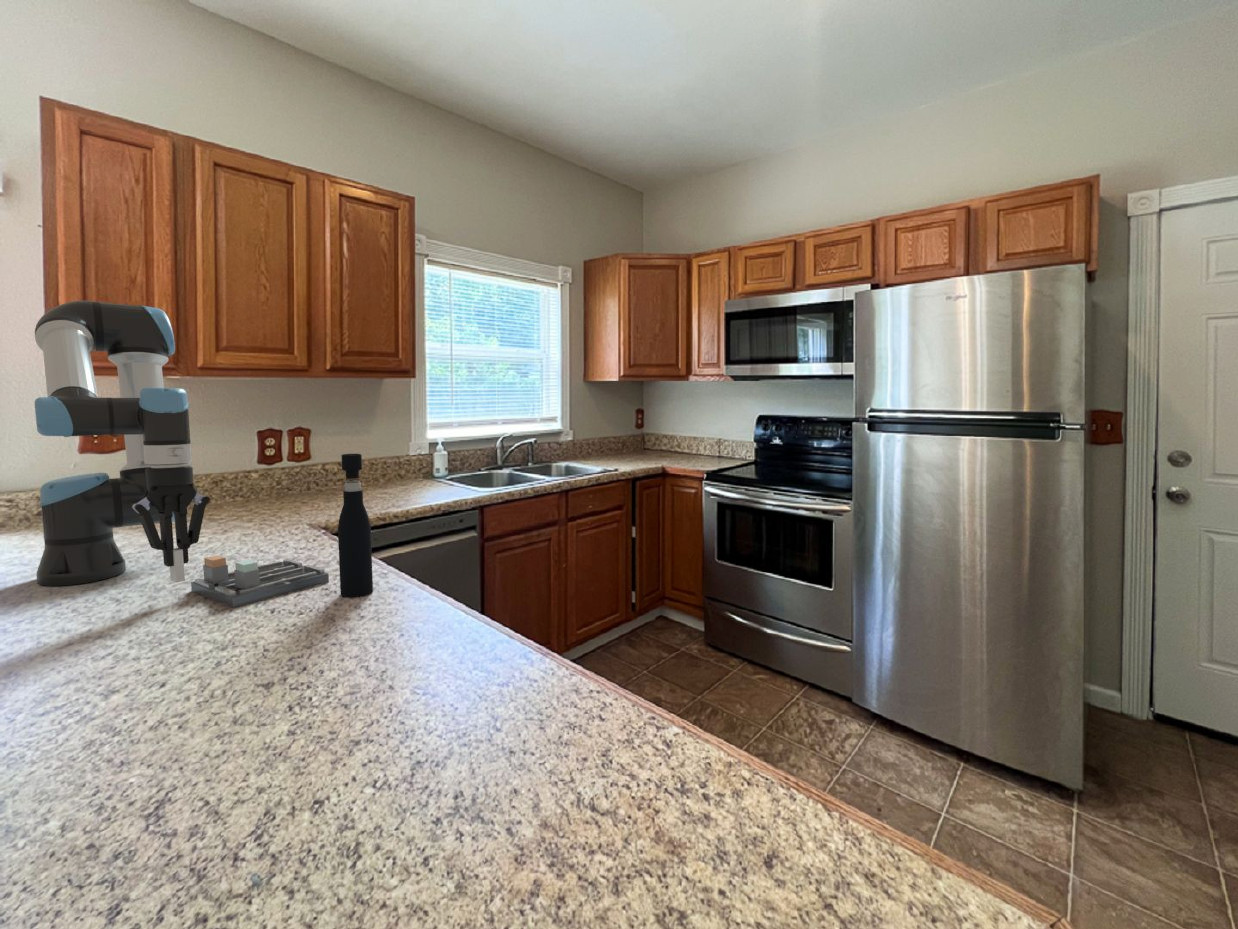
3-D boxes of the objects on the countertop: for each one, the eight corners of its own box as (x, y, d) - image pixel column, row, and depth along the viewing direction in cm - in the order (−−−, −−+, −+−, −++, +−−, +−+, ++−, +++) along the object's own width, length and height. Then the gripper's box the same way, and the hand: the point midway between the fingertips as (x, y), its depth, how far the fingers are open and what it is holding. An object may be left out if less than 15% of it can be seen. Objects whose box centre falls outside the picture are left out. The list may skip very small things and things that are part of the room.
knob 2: (235, 586, 122) (233, 562, 121) (250, 583, 124) (249, 559, 124) (244, 590, 120) (243, 565, 119) (260, 586, 122) (258, 562, 122)
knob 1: (204, 581, 125) (202, 557, 124) (219, 578, 127) (218, 554, 127) (213, 584, 123) (211, 560, 122) (228, 581, 125) (227, 557, 125)
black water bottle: (364, 598, 122) (359, 456, 119) (334, 597, 122) (328, 455, 119) (378, 588, 128) (373, 453, 125) (349, 588, 129) (343, 452, 125)
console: (191, 591, 125) (190, 578, 125) (285, 569, 142) (285, 557, 142) (233, 608, 116) (232, 594, 115) (328, 582, 132) (328, 570, 132)
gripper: (136, 469, 109) (146, 592, 111) (214, 463, 120) (222, 575, 122) (120, 467, 113) (130, 585, 115) (197, 461, 124) (205, 570, 126)
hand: (177, 580), depth 119 cm, fingers closed
